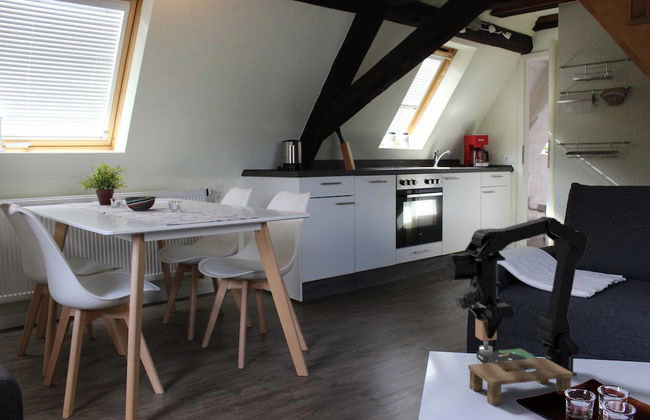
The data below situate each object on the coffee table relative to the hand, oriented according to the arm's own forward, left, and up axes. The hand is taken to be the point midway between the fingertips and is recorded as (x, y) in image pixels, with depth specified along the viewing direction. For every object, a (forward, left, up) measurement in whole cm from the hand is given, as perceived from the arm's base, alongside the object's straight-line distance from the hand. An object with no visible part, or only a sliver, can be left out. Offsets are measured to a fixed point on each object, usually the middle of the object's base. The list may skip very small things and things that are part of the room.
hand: (486, 336), depth 155 cm
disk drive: (-13, -11, -13) cm, 22 cm away
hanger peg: (0, 0, -5) cm, 5 cm away
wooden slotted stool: (-4, +9, -12) cm, 16 cm away
